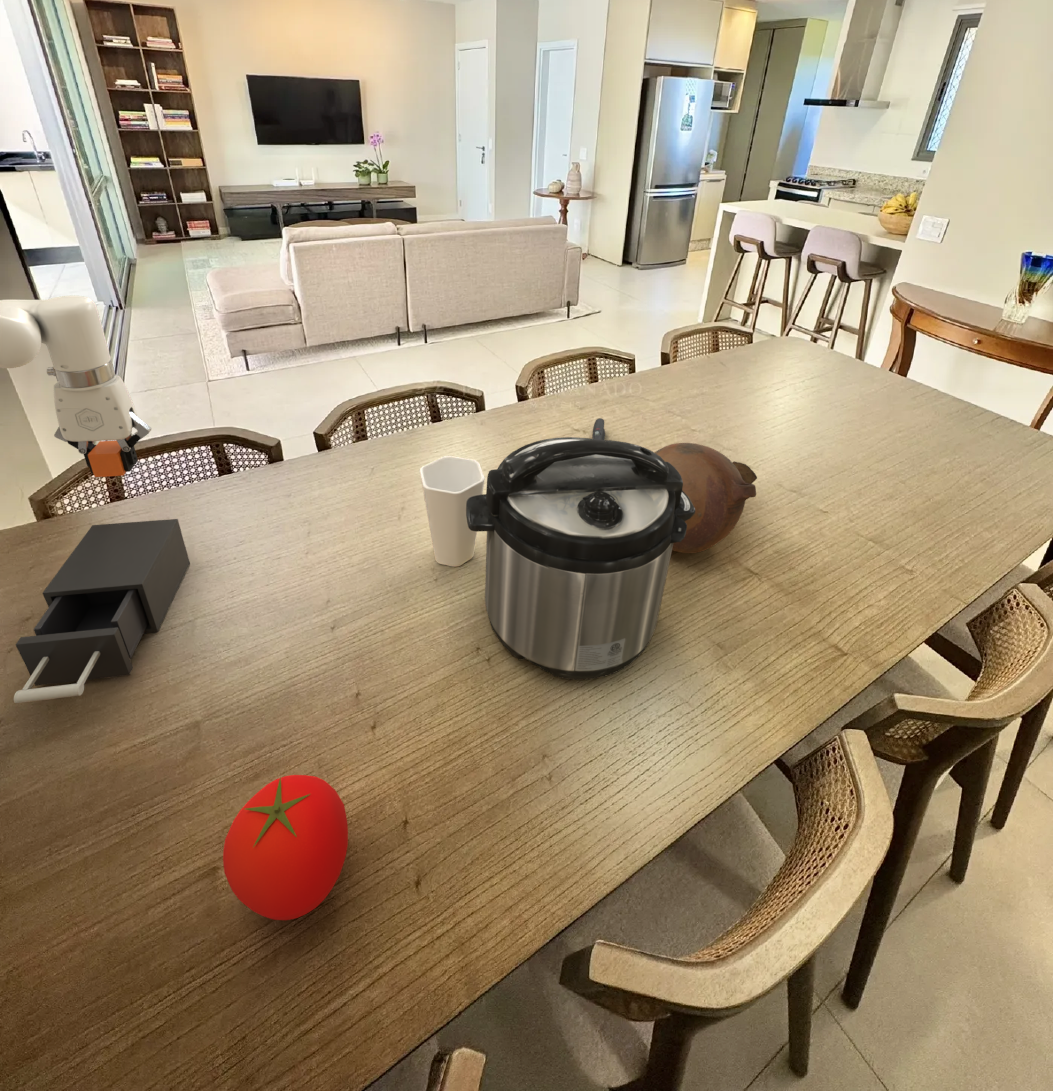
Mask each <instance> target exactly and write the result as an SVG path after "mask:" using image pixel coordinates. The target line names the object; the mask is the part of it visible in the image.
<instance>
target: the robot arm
mask: <svg viewBox="0 0 1053 1091" xmlns="http://www.w3.org/2000/svg"><path fill="white" fill-rule="evenodd" d="M42 344H44V345H45V346H46V347H47V350H48V355H49V357H50V360H51V363H52V366H49V367H46V374H47V375H48V376H53V377H55V379H56V381H57V382H56V383H55V384H53V401H54V408H55V409H54V410H55V415H56V419H57V423H58V427H57V429H56V431H55V432H54V435H53V436H54V438H56V439H58V440H60V441H63V442H65V443H67V444H68V445H70V446H71V447H73V448H75V449H76V450H77V451H78V453H79V454H81V455H83V457H84V460H85V463H86V466H87V468H89V471H90V473H91V475H92V474H93V470H92V467H91V464H90V461H89V458H88V454H89V453H90V452H91V451H92V449H93V448H94V447H95V446H96V445H97V444H95V442H100V441H117V442H118V444H119V445H120V447H121V449H122V451H121V452H120V456H121V459H122V463H123V466H124V470H125V471H126V473H130V472H131V471H132V469H133V468H134V467H135V466H136V464H137V463H138V456H137V452H136V448H135V445H137V443H138V442H139V441H140V440H141V439H143V438H145V437H146V436H148V435H149V433H150V432H151V431H152V427H151V426H150V425H149V424H147V423H146V422H145V421H144V420H143V419H141V417H139V416H138V414H137V410H136V407H135V405H134V402H133V399H132V397H131V395H130V394H131V393H130V392H129V390H128V388H127V385H126V384H125V382H124V380H123V379H122V377H121V376H120V375H117V374H116V371H115V367H114V363H113V360H112V357H111V354H110V349H109V346H108V342H107V339H106V334H105V331H104V327H103V323H102V320H101V317H100V313H99V310H98V307H97V304H96V302H95V301H94V300H93V299H92V298H90V297H87V296H84V295H75V294H74V295H73V294H71V295H62V296H61V295H59V296H55V297H50V298H48V299H0V369H16V368H20V367H23V366H26V365H27V364H29V363H32V362H33V361H34V360H35V359H36V358H37V356H38V355H39V354H40V352H41V349H42ZM133 429H134V430H136V432H134V433H133ZM93 475H94V474H93Z"/></svg>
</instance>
